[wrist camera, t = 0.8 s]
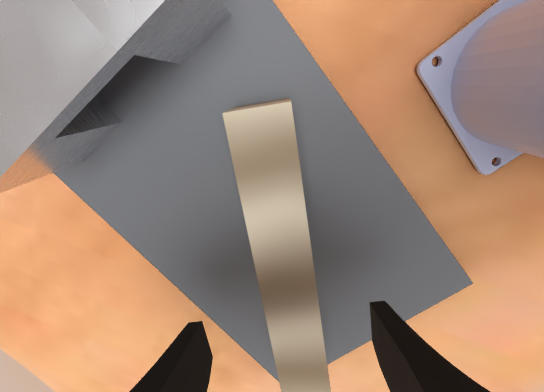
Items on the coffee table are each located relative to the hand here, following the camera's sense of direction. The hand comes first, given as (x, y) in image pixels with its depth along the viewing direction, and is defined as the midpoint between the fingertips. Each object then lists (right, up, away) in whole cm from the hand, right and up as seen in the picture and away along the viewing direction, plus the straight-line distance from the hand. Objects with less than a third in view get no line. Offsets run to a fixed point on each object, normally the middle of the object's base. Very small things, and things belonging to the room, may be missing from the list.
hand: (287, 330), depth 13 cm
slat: (0, +3, +7) cm, 7 cm away
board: (-2, +6, +7) cm, 9 cm away
